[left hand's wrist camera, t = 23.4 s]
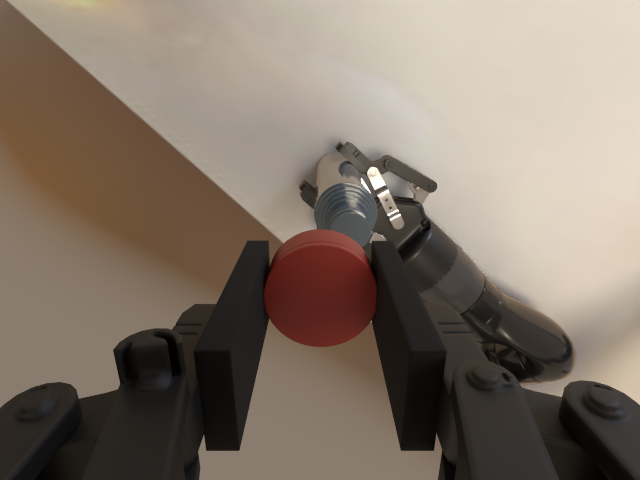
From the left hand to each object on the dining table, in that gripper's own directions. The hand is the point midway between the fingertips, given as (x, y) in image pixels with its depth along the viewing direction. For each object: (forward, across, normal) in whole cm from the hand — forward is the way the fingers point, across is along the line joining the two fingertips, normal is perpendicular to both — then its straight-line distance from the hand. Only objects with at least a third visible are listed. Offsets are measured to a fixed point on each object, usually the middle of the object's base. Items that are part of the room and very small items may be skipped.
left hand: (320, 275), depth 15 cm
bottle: (+34, +2, -2) cm, 34 cm away
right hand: (+27, 0, 0) cm, 27 cm away
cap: (-1, 0, 0) cm, 1 cm away
